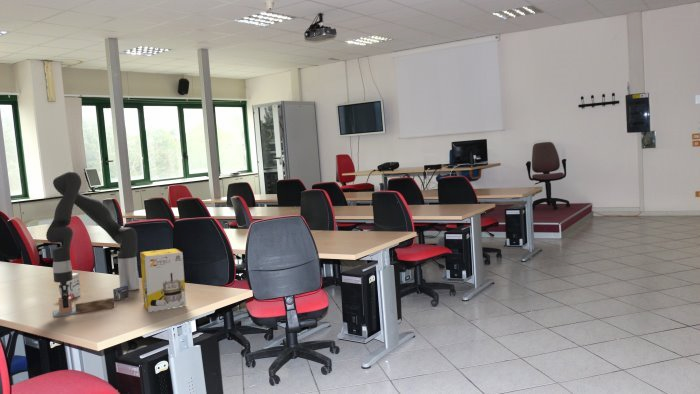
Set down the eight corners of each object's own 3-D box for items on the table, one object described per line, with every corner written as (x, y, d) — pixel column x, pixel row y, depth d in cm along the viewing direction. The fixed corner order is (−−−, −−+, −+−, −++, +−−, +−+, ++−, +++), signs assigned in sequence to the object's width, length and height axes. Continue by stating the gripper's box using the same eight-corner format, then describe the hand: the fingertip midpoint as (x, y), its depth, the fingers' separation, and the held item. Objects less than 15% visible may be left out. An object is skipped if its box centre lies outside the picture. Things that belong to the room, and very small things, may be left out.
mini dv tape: (116, 301, 271) (115, 289, 271) (114, 301, 272) (113, 289, 271) (128, 297, 279) (127, 285, 279) (126, 297, 280) (125, 285, 279)
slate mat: (77, 308, 261) (77, 306, 261) (79, 313, 251) (78, 312, 251) (53, 311, 256) (53, 310, 256) (53, 317, 246) (53, 316, 246)
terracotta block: (71, 309, 257) (70, 296, 257) (72, 311, 253) (71, 298, 252) (59, 311, 254) (58, 297, 254) (59, 313, 250) (58, 299, 250)
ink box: (69, 299, 280) (67, 276, 280) (61, 299, 281) (59, 276, 281) (81, 295, 289) (79, 272, 288) (72, 295, 290) (71, 273, 289)
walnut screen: (113, 306, 262) (113, 297, 261) (114, 306, 260) (113, 298, 260) (75, 312, 254) (75, 303, 254) (76, 312, 252) (75, 304, 252)
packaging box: (148, 312, 247) (144, 256, 245) (143, 305, 261) (140, 252, 260) (186, 306, 254) (182, 252, 253) (179, 299, 268) (175, 248, 267)
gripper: (72, 271, 248) (75, 307, 249) (70, 267, 260) (73, 301, 261) (53, 274, 244) (56, 310, 245) (52, 269, 257) (55, 304, 258)
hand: (65, 305), depth 253 cm, fingers open, 8 cm apart
